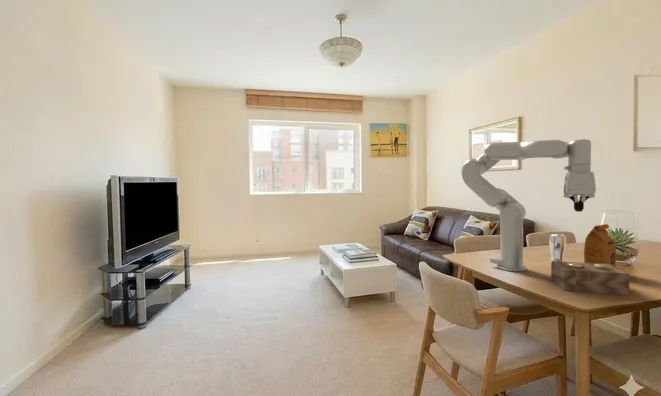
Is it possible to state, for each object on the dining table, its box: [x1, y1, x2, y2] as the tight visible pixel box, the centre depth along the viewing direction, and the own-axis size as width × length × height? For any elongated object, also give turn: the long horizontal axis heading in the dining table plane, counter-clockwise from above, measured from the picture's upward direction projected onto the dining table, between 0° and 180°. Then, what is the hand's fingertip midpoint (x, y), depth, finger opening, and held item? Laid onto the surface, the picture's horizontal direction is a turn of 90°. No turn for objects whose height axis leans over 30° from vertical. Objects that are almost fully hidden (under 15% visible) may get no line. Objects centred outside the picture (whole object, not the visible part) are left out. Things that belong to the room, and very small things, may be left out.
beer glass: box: [548, 233, 567, 265], centre depth 155 cm, size 7×7×15 cm
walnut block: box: [550, 260, 630, 296], centre depth 122 cm, size 20×14×9 cm
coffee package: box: [583, 223, 617, 268], centre depth 140 cm, size 10×12×22 cm
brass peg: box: [567, 262, 583, 268], centre depth 124 cm, size 5×5×8 cm
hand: (578, 211), depth 133 cm, fingers closed
